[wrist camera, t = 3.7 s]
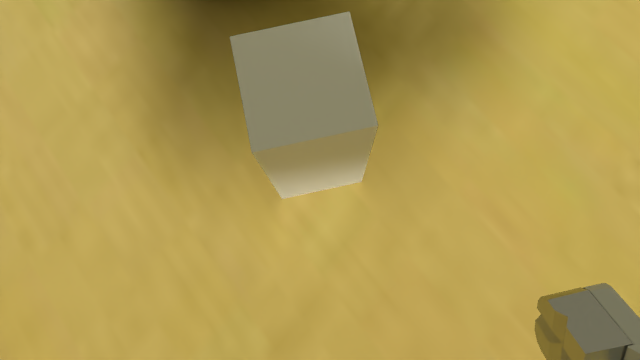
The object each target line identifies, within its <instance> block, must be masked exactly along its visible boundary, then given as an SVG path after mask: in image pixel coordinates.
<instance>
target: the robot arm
mask: <svg viewBox="0 0 640 360" xmlns="http://www.w3.org/2000/svg"><path fill="white" fill-rule="evenodd" d="M537 309H538V310H539V312H540V313H541V315H540V316H539V317H538V318H537V319H536V320H535V334H536V338H537V342H538V344H539V347H540V349H541V351H542V353H543V354H544V356H545V358H546V359H547V360H640V318H639V317H638V316H637V315H636V314H635V312H634V311H633V310H632V309H631V308H630V307H629V306H628V305H627V304H626V302H625V301H624V300H623V299H622V298H621V297H620V296H619V295H618V293H617V292H616V291H615V290H614V289H613V288H612V287H611V286H610V285H608V284H606V283H601V284H597V285H592V286H588V287H584V288H576V289H572V290H568V291H563V292H559V293H555V294H551V295H546V296H542V297H540V299H539V300H538V304H537Z"/></svg>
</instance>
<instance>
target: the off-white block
mask: <svg viewBox="0 0 640 360" xmlns="http://www.w3.org/2000/svg"><path fill="white" fill-rule="evenodd" d="M230 41H231V46H232V51H233V56H234V62H235V67H236V72H237V77H238V83H239V88H240V93H241V98H242V104H243V109H244V114H245V119H246V125H247V130H248V135H249V140H250V145H251V151H252V154H253V155H254V157H255V158H256V160H257V161H258V163H259V164H260V166H261V167H262V169H263V170H264V172H265V173H266V175H267V176H268V178H269V180H270V181H271V183H272V184H273V186H274V187H275V189H276V190H277V192H278V193H279V195H280V196H281V198H282V199H284V198H289V197H293V196H298V195H303V194H307V193H312V192H317V191H321V190H326V189H330V188H335V187H340V186H344V185H349V184H354V183H358V182H362V179H363V175H364V172H365V168H366V165H367V162H368V158H369V155H370V152H371V148H372V145H373V141H374V138H375V135H376V131H377V128H378V123H377V119H376V115H375V111H374V107H373V103H372V99H371V95H370V91H369V87H368V83H367V79H366V75H365V71H364V67H363V63H362V59H361V55H360V51H359V47H358V43H357V39H356V35H355V31H354V27H353V23H352V19H351V15H350V11H349V12H344V13H339V14H334V15H330V16H325V17H320V18H315V19H311V20H306V21H301V22H296V23H292V24H287V25H282V26H277V27H273V28H268V29H263V30H258V31H254V32H249V33H244V34H239V35H234V36H230Z"/></svg>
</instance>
